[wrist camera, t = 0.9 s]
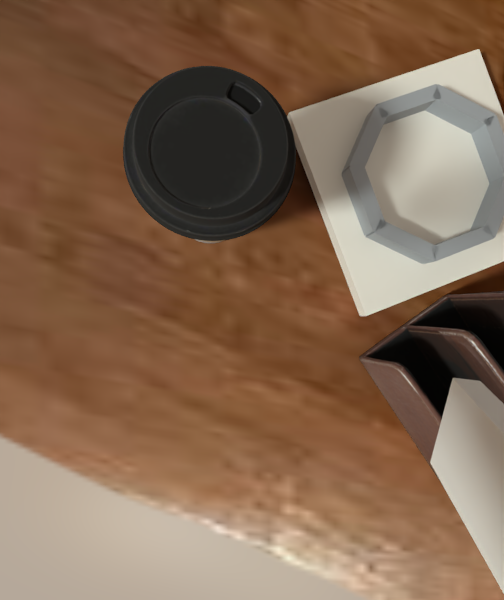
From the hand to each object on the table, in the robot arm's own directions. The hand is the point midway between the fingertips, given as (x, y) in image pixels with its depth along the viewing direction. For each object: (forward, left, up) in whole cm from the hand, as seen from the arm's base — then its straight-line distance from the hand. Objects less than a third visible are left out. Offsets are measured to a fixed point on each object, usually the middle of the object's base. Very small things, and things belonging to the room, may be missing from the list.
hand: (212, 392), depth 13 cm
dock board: (-6, +22, -25) cm, 34 cm away
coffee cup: (-10, +4, -25) cm, 27 cm away
